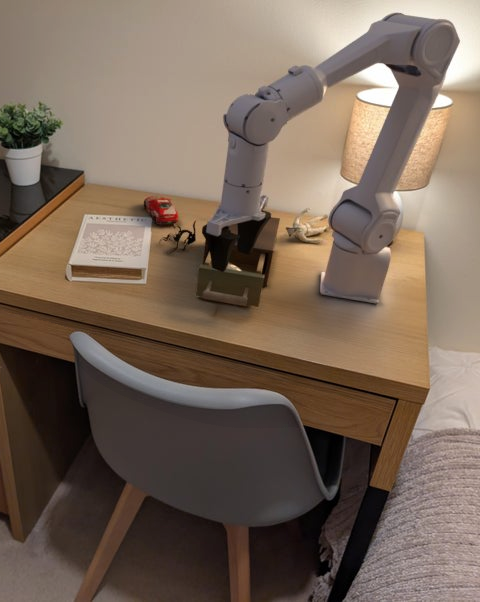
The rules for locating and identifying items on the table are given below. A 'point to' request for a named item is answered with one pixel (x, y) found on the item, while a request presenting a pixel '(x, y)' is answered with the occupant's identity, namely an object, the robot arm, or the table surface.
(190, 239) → the creature
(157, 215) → the race car
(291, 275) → the table surface
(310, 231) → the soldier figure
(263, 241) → the cabinet
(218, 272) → the drawer
